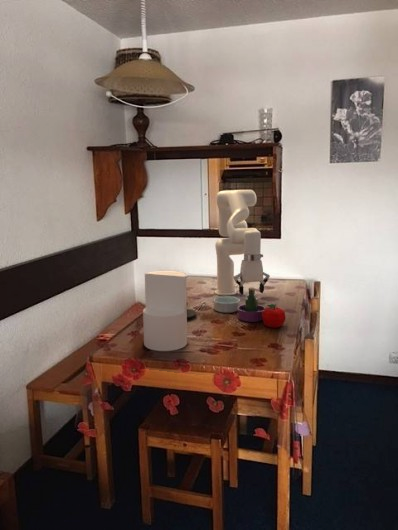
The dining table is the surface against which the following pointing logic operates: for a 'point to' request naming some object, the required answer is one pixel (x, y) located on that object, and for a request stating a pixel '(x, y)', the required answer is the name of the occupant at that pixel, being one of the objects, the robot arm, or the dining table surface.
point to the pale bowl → (226, 304)
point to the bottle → (251, 301)
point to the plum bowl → (250, 314)
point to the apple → (273, 316)
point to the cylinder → (165, 310)
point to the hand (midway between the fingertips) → (251, 293)
